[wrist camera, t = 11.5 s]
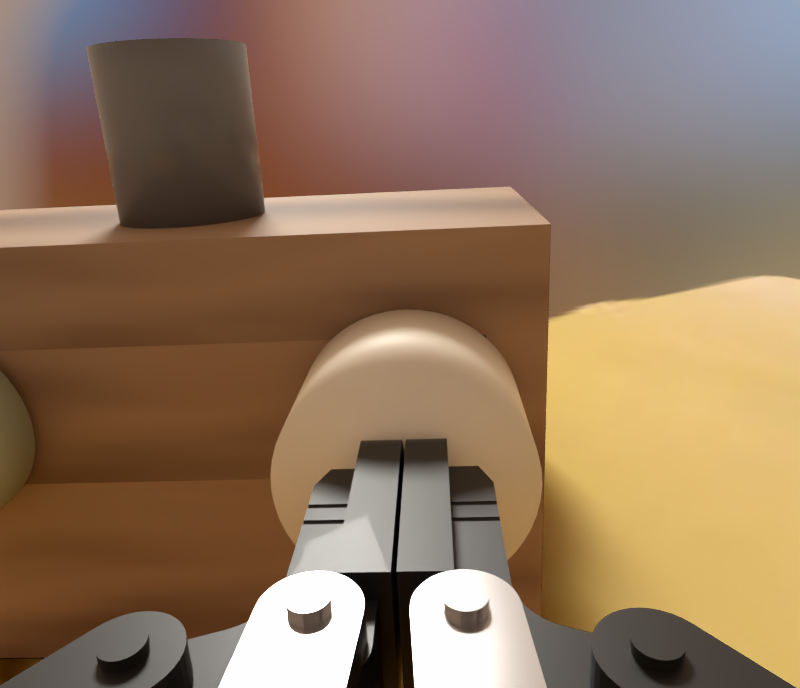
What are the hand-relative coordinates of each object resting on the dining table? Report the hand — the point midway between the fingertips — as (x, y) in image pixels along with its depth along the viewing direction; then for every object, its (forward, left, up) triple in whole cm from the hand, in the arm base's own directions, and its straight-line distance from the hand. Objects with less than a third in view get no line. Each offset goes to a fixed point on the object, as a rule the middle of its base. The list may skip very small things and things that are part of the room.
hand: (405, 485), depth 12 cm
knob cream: (+5, -3, -2) cm, 6 cm away
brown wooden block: (+9, +1, -7) cm, 11 cm away
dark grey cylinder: (+9, +1, +4) cm, 10 cm away
